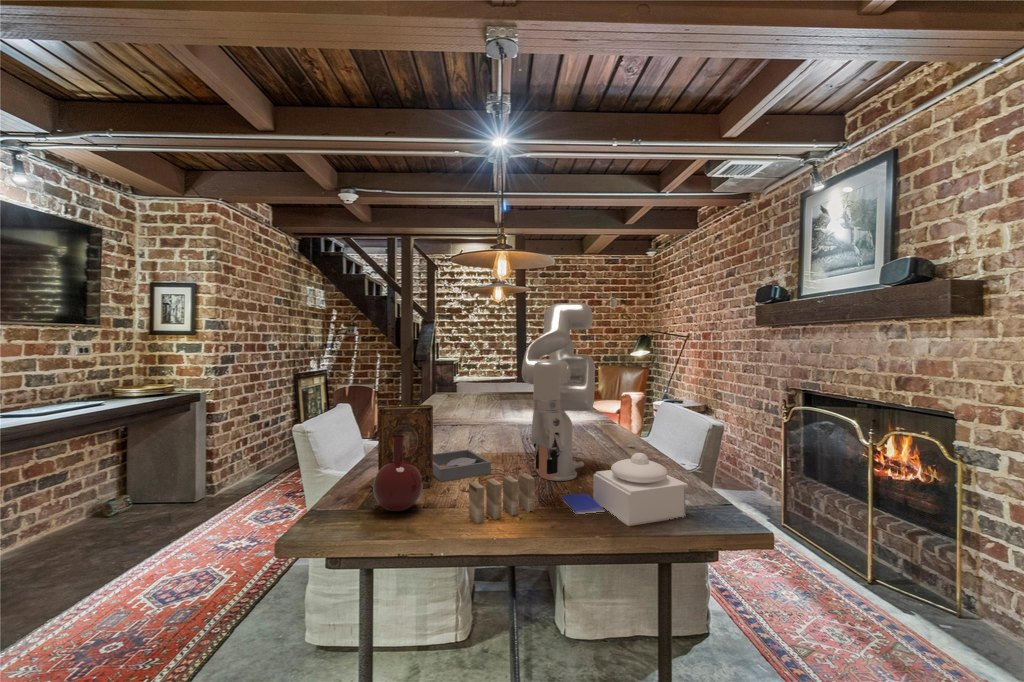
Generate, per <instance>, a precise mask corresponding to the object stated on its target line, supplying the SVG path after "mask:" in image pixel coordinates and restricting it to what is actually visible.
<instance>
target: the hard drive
mask: <svg viewBox="0 0 1024 682" xmlns="http://www.w3.org/2000/svg"><path fill="white" fill-rule="evenodd" d="M560 498H562V499H563V500H564V501H563V500H562V499H561V500H562V501H563V503H564V504H565V503H566V504H567V505H568V506H569V507H570V508H571V509H572V510H573V512H574V513H575V514H585V513H596V512H605V511H606V510H605V509H603V508H602V507H601V506H600V505H599V504H598V503H597V502H596V501H594V500H593V498H592V497H591V496H590V495H589V494H588V493H575V494H562V495H561V496H560ZM567 505H566V506H567ZM568 506H567V507H568ZM569 507H568V508H569ZM570 508H569V509H570ZM571 509H570V510H571ZM572 510H571V511H572ZM574 513H573V514H574ZM605 513H606V512H605ZM575 514H574V515H575ZM596 514H597V513H596ZM585 515H586V514H585Z"/></svg>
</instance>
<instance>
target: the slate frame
mask: <svg viewBox="0 0 1024 682" xmlns="http://www.w3.org/2000/svg"><path fill="white" fill-rule="evenodd" d="M459 458H470V459H476V460H477V463H475V464H468V465H461V466H455V467H448V468H445V467H442V466H441V465H443V466H444V465H447V464H448V463H449V462H450V461H451V460H454V459H459ZM485 474H486V475H491V474H492V462H491V461H490V460H489V459H486V458H485V457H483V456H481V455H479V454H478V453H476V452H475V451H472V450H471V449H461V450H455V451H445V452H440V453H439V452H438V453H433V478H435V479H436V480H437V481H439V482H441V483H442V481H443V482H447V481H448V482H449V481H453V480H454V481H455V480H460V478H461V479H466V478H465V477H468V478H472V477H471V476H474V477H478V476H477V475H480V476H484V475H485Z"/></svg>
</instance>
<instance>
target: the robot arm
mask: <svg viewBox="0 0 1024 682" xmlns="http://www.w3.org/2000/svg"><path fill="white" fill-rule="evenodd" d="M593 316H594V315H593V311H592V309H591V306H589V305H588V304H586V303H583V302H568V303H567V302H564V303H563V302H560V303H559V302H558V303H553V304H552V305H550V306H548V308H546V310H545V311H544V313H543V323H544V325H543V330H542V331H543V332H542V335H539V336H538V337H537V338H536V339H534V340H533V341H532V342H531V343H530V344H529V345H528V346H527V348H526V350H525V352H524V356H523V360H522V365H521V377H522V379H523V382H525V383H526V384H529V385H533V390H532V392H533V393H532V395H533V397H532V398H533V399H532V400H533V404H532V405H533V407H532V408H533V409H532V411H533V412H532V423H531V424H532V425H531V442H532V444H533V447H534V454H535V469H537V470H539V445H540V446H542V447H545V448H547V453H548V459H547V474H554V479H550V480H549V481H553V482H554V481H555V482H556V481H557V482H565V481H570V480H574V479H576V478H577V476H578V472H577V471H576V469H577V468H583V467H584V466H585V463H584V461H576V460H573V422H572V420H571V418H570V416H569V415H568V413H566V411H567V412H568V411H573V412H574V411H577V412H578V411H579V412H589V411H591V410H592V408H594V405H595V389H596V388H595V385H596V383H595V381H596V380H595V379H596V367H595V361H594V359H593V357H592V356H591V355H589V354H582V353H581V354H579V353H578V354H577V353H576V354H575V352H574V351H575V344H574V342H573V340H572V338H570V332H571V331H574V330H575V331H580V330H581V331H582V330H584V331H585V330H589V329H590V328H591V327H592V325H593V320H594V317H593ZM546 355H549V356H548V357H549V358H544V359H543V358H542V357H544V356H546ZM552 445H553V446H555V447H552ZM551 450H554V451H553V453H551ZM541 478H542V479H545V478H543V477H541ZM545 480H546V479H545Z"/></svg>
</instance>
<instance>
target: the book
mask: <svg viewBox="0 0 1024 682" xmlns="http://www.w3.org/2000/svg"><path fill="white" fill-rule="evenodd" d="M377 415H378V418H377V419H378V421H377V424H378V425H377V426H378V428H377V430H378V433H377V436H378V440H377V444H378V445H377V446H378V448H377V449H378V452H377V453H378V455H377V456H378V459H377V463H378V464H377V466H378V469H377V470H378V471H379V470H380V469H381V468H382V467H383V466H384V465H386V464H388V463H390V462H392V461H393V439H392V437H393V436H396V435H402V436H404V438H403V461H407V462H410V463H411V464H413V465H414V466H416V467H417V469H418V470H419V471H420V473H421V476H422V479H423V488H426V489H431V488H430V487H432V486H434V476H433V454H434V405H431V404H420V405H419V404H418V405H415V404H414V405H411V404H410V405H388V406H386V405H385V406H383V405H382V406H380V407H379V410H378V414H377ZM378 471H377V472H378ZM432 488H433V487H432Z"/></svg>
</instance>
